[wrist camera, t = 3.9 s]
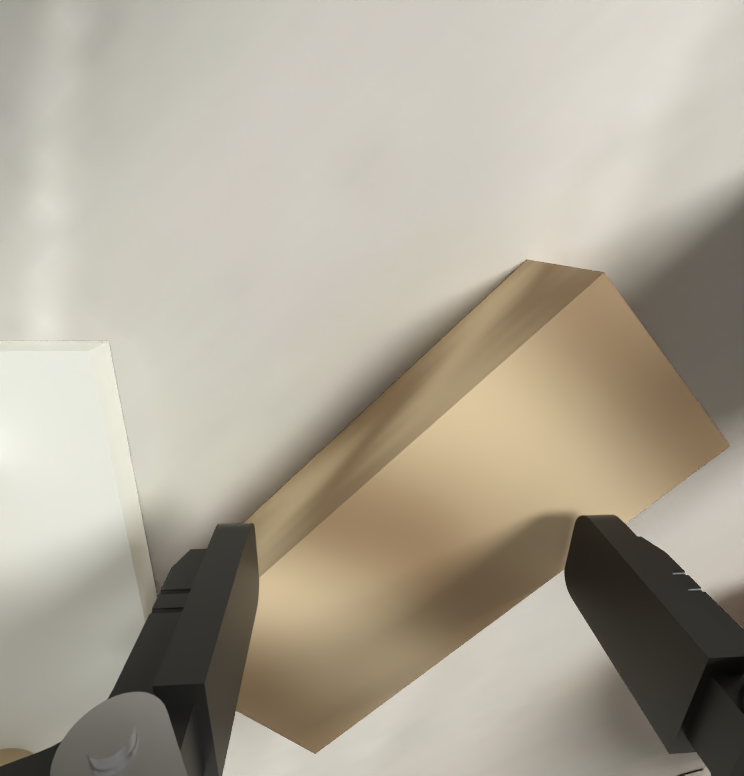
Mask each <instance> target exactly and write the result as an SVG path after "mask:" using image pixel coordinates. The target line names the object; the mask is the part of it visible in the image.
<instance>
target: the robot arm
mask: <svg viewBox="0 0 744 776" xmlns="http://www.w3.org/2000/svg"><path fill="white" fill-rule="evenodd" d="M564 573H565V582H566V586H567V589H568V592H569V594H570V596H571V598H572V599H573V601H574V603H575V604H576V606H577V607H578V609H579V611H580V612H581V614H582V615H583V617H584V618H585V620H586V622H587V623H588V625H589V626H590V628H591V630H592V631H593V633H594V634H595V636H596V638H597V639H598V641H599V642H600V644H601V646H602V647H603V649H604V650H605V652H606V654H607V655H608V657H609V658H610V660H611V662H612V663H613V665H614V666H615V668H616V670H617V671H618V673H619V674H620V676H621V677H622V679H623V681H624V682H625V684H626V685H627V687H628V689H629V690H630V692H631V693H632V695H633V697H634V698H635V700H636V701H637V703H638V705H639V706H640V708H641V709H642V711H643V713H644V714H645V716H646V717H647V719H648V721H649V722H650V724H651V725H652V727H653V729H654V730H655V732H656V733H657V735H658V736H659V738H660V740H661V741H662V743H663V744H664V746H665V748H666V749H667V751H668V752H669V754H674V753H688V752H697V754H698V755H699V757H700V758H701V759H702V761H703V762H704V764H705V766H704V768H703V770H702V774H701V776H744V630H743V629H742V628H741V627H740V626H739V625H738V624H737V623H736V622H735V621H734V620H733V619H732V618H731V617H730V616H729V615H728V614H727V613H726V612H725V611H724V610H723V609H722V608H721V607H720V606H719V605H718V604H717V603H716V602H715V601H714V600H713V599H712V598H711V597H710V596H709V595H708V594H707V593H706V592H702V591H701V587H700V586H699V585H698V584H697V583H696V582H695V581H694V580H693V579H692V578H691V577H690V576H689V575H685V571H684V570H683V569H682V568H681V567H680V566H679V565H678V564H677V563H676V562H675V561H674V560H673V559H672V558H671V557H670V556H669V555H668V554H667V553H666V552H664V551H663V550H661V549H660V548H658V547H656V546H655V545H653V544H652V543H650V542H649V541H647V540H645V539H644V538H642V537H637V536H636V535H635V534H634V533H633V532H632V531H631V529H630V528H629V527H628V526H627V525H626V524H625V523H624V522H623V521H622V520H621V519H620V518H619V517H617V516H616V515H581V516H579V517H578V518H577V519H576V521H575V525H574V529H573V533H572V538H571V542H570V546H569V551H568V555H567V560H566V564H565V572H564ZM258 598H259V570H258V558H257V546H256V534H255V527H254V524H253V523H237V524H218V525H217V527H216V529H215V531H214V533H213V536H212V538H211V541H210V543H209V546H208V548H207V549H192V550H190V551H189V552H187V553H186V554H185V555H184V556H183V557H182V558H181V559H180V560H179V561H178V562H177V563H176V564H175V565H174V566H173V567H172V568H171V570H170V572H169V574H168V576H167V578H166V581H165V583H164V585H163V587H162V589H161V594H159V595H158V597H157V599H156V601H155V603H154V605H153V607H152V613H150V614H149V616H148V618H147V620H146V622H145V624H144V626H143V628H142V630H141V632H140V634H139V636H138V638H137V641H136V643H135V645H134V647H133V649H132V651H131V653H130V655H129V657H128V659H127V661H126V663H125V665H124V667H123V670H122V672H121V674H120V676H119V678H118V680H117V682H116V684H115V686H114V688H113V690H112V692H111V694H110V695H109V697H108V699H107V700H105V701H104V702H102V703H100V704H99V705H97V706H95V707H94V708H93V709H91V710H90V711H89V712H87V713H86V714H85V715H84V716H83V717H82V718H80V719H79V720H78V721H77V722H76V723H75V724H74V726H73V727H72V728H71V729H70V730H69V731H68V733H67V734H66V736H65V737H64V738H63V740H62V741H61V742H59V743H57V744H55V745H54V746H52V747H49V748H47V749H45V750H42V751H40V752H37V753H35V754H32V755H29V756H27V757H24V758H21V759H19V760H16V761H13V762H11V763H8V764H5V765H3V766H0V776H222V773H223V768H224V764H225V759H226V754H227V749H228V745H229V740H230V735H231V730H232V726H233V721H234V716H235V711H236V706H237V702H238V697H239V692H240V687H241V683H242V678H243V673H244V668H245V663H246V659H247V654H248V649H249V644H250V640H251V635H252V630H253V625H254V621H255V616H256V611H257V606H258Z"/></svg>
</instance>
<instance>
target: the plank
mask: <svg viewBox="0 0 744 776" xmlns="http://www.w3.org/2000/svg"><path fill="white" fill-rule="evenodd" d="M728 447H730V445H729V443H728V442H727V441H726V439H725V438H724V436H723V435H722V434H721V432H720V431H719V430H718V428H717V427H716V425H715V424H714V423H713V421H712V420H711V419H710V417H709V416H708V414H707V413H706V412H705V410H704V409H703V408H702V406H701V405H700V403H699V402H698V401H697V399H696V398H695V397H694V395H693V394H692V392H691V391H690V390H689V388H688V387H687V386H686V384H685V383H684V381H683V380H682V379H681V377H680V376H679V375H678V373H677V372H676V370H675V369H674V368H673V366H672V365H671V364H670V362H669V361H668V359H667V358H666V357H665V355H664V354H663V353H662V351H661V350H660V348H659V347H658V346H657V344H656V343H655V342H654V340H653V339H652V337H651V336H650V335H649V333H648V332H647V331H646V329H645V328H644V326H643V325H642V324H641V322H640V321H639V320H638V318H637V317H636V315H635V314H634V313H633V311H632V310H631V309H630V307H629V306H628V304H627V303H626V302H625V300H624V299H623V298H622V296H621V295H620V294H619V292H618V291H617V289H616V288H615V287H614V285H613V284H612V283H611V281H610V280H609V278H608V277H607V276H606V274H605V273H604V272H598V271H592V270H586V269H580V268H574V267H568V266H562V265H556V264H550V263H544V262H539V261H533V260H526V261H525V262H524V263H523V264H521V265H520V266H519V267H518V268H517V269H516V270H515V271H514V272H513V273H512V274H511V275H510V276H509V277H507V278H506V279H505V280H504V281H503V282H502V283H501V284H500V285H499V286H498V287H497V288H496V289H495V290H493V291H492V292H491V293H490V294H489V295H488V296H487V297H486V298H485V299H484V300H483V301H482V302H481V303H479V304H478V305H477V306H476V307H475V308H474V309H473V310H472V311H471V312H470V313H469V314H468V315H467V316H465V317H464V318H463V319H462V320H461V321H460V322H459V323H458V324H457V325H456V326H455V327H454V328H453V329H451V330H450V331H449V332H448V333H447V334H446V335H445V336H444V337H443V338H442V339H441V340H440V341H439V342H437V343H436V344H435V345H434V346H433V347H432V348H431V349H430V350H429V351H428V352H427V353H426V354H425V355H424V356H422V357H421V358H420V359H419V360H418V361H417V362H416V363H415V364H414V365H413V366H412V367H411V368H410V369H408V370H407V371H406V372H405V373H404V374H403V375H402V376H401V377H400V378H399V379H398V380H397V381H396V382H394V383H393V384H392V385H391V386H390V387H389V388H388V389H387V390H386V391H385V392H384V393H383V394H382V395H380V396H379V397H378V398H377V399H376V400H375V401H374V402H373V403H372V404H371V405H370V406H369V407H368V408H366V409H365V410H364V411H363V412H362V413H361V414H360V415H359V416H358V417H357V418H356V419H355V420H354V421H352V422H351V423H350V424H349V425H348V426H347V427H346V428H345V429H344V430H343V431H342V432H341V433H340V434H338V435H337V436H336V437H335V438H334V439H333V440H332V441H331V442H330V443H329V444H328V445H327V446H326V447H324V448H323V449H322V450H321V451H320V452H319V453H318V454H317V455H316V456H315V457H314V458H313V459H312V460H311V461H309V462H308V463H307V464H306V465H305V466H304V467H303V468H302V469H301V470H300V471H299V472H298V473H297V474H295V475H294V476H293V477H292V478H291V479H290V480H289V481H288V482H287V483H286V484H285V485H284V486H283V487H281V488H280V489H279V490H278V491H277V492H276V493H275V494H274V495H273V496H272V497H271V498H270V499H269V500H267V501H266V502H265V503H264V504H263V505H262V506H261V507H260V508H259V509H258V510H257V511H256V512H255V513H253V514H252V515H251V516H250V517H249V518H248V519H247V520H246V521H245V522H244V523H253V524H254V527H255V534H256V546H257V558H258V570H259V598H258V606H257V611H256V616H255V621H254V625H253V630H252V635H251V640H250V644H249V649H248V654H247V659H246V663H245V668H244V673H243V678H242V683H241V687H240V692H239V697H238V702H237V706H236V711H238V712H240V713H242V714H243V715H245V716H247V717H249V718H251V719H253V720H254V721H256V722H258V723H260V724H262V725H263V726H265V727H267V728H269V729H271V730H273V731H274V732H276V733H278V734H280V735H282V736H283V737H285V738H287V739H289V740H291V741H293V742H294V743H296V744H298V745H300V746H302V747H303V748H305V749H307V750H309V751H311V752H313V753H314V754H316V753H317V752H318V751H320V750H321V749H322V748H324V747H325V746H326V745H328V744H329V743H331V742H332V741H333V740H335V739H336V738H337V737H339V736H340V735H341V734H343V733H344V732H345V731H347V730H348V729H349V728H351V727H352V726H353V725H355V724H356V723H357V722H359V721H360V720H362V719H363V718H364V717H366V716H367V715H368V714H370V713H371V712H372V711H374V710H375V709H376V708H378V707H379V706H380V705H382V704H383V703H384V702H386V701H387V700H388V699H390V698H391V697H393V696H394V695H395V694H397V693H398V692H399V691H401V690H402V689H403V688H405V687H406V686H407V685H409V684H410V683H411V682H413V681H414V680H415V679H417V678H418V677H419V676H421V675H422V674H424V673H425V672H426V671H428V670H429V669H430V668H432V667H433V666H434V665H436V664H437V663H438V662H440V661H441V660H442V659H444V658H445V657H446V656H448V655H449V654H450V653H452V652H453V651H455V650H456V649H457V648H459V647H460V646H461V645H463V644H464V643H465V642H467V641H468V640H469V639H471V638H472V637H473V636H475V635H476V634H477V633H479V632H480V631H481V630H483V629H484V628H486V627H487V626H488V625H490V624H491V623H492V622H494V621H495V620H496V619H498V618H499V617H500V616H502V615H503V614H504V613H506V612H507V611H508V610H510V609H511V608H512V607H514V606H515V605H517V604H518V603H519V602H521V601H522V600H523V599H525V598H526V597H527V596H529V595H530V594H531V593H533V592H534V591H535V590H537V589H538V588H539V587H541V586H542V585H543V584H545V583H546V582H548V581H549V580H550V579H552V578H553V577H554V576H556V575H557V574H558V573H560V572H561V571H562V570H564V569H565V564H566V560H567V555H568V551H569V546H570V542H571V538H572V533H573V529H574V525H575V521H576V519H577V518H578V517H579V516H581V515H616V516H617V517H619V518H620V519H621V520H622V521H623V522H624V523H625V524H626V523H627V522H628V521H630V520H631V519H632V518H634V517H635V516H637V515H638V514H639V513H641V512H642V511H643V510H645V509H646V508H647V507H649V506H650V505H651V504H653V503H654V502H655V501H657V500H658V499H659V498H661V497H662V496H663V495H665V494H666V493H668V492H669V491H670V490H672V489H673V488H674V487H676V486H677V485H678V484H680V483H681V482H682V481H684V480H685V479H686V478H688V477H689V476H690V475H692V474H693V473H694V472H696V471H697V470H699V469H700V468H701V467H703V466H704V465H705V464H707V463H708V462H709V461H711V460H712V459H713V458H715V457H716V456H717V455H719V454H720V453H721V452H723V451H724V450H725V449H727V448H728Z"/></svg>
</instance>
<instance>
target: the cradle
mask: <svg viewBox="0 0 744 776" xmlns="http://www.w3.org/2000/svg"><path fill="white" fill-rule="evenodd" d="M156 599H157V593H156V588H155V582H154V577H153V572H152V567H151V561H150V556H149V551H148V546H147V541H146V535H145V530H144V525H143V520H142V514H141V509H140V504H139V499H138V494H137V488H136V483H135V478H134V473H133V467H132V462H131V457H130V452H129V447H128V441H127V436H126V431H125V426H124V420H123V415H122V410H121V405H120V399H119V394H118V389H117V384H116V379H115V373H114V368H113V363H112V358H111V352H110V347H109V342H108V341H0V766H3V765H5V764H8V763H11V762H13V761H16V760H19V759H21V758H24V757H27V756H29V755H32V754H35V753H37V752H40V751H42V750H45V749H47V748H49V747H52V746H54V745H55V744H57V743H59V742H61V741H62V740H63V738H64V737H65V736H66V734H67V733H68V731H69V730H70V729H71V728H72V727H73V726H74V724H75V723H76V722H77V721H78V720H79V719H80V718H82V717H83V716H84V715H85V714H86V713H87V712H89V711H90V710H91V709H93V708H94V707H95V706H97V705H99V704H100V703H102V702H104V701H105V700H107V699H108V697H109V695H110V694H111V692H112V690H113V688H114V686H115V684H116V682H117V680H118V678H119V676H120V674H121V672H122V670H123V667H124V665H125V663H126V661H127V659H128V657H129V655H130V653H131V651H132V649H133V647H134V645H135V643H136V641H137V638H138V636H139V634H140V632H141V630H142V628H143V626H144V624H145V622H146V620H147V618H148V616H149V614H150V613H152V607H153V605H154V603H155V601H156Z"/></svg>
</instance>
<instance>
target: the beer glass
mask: <svg viewBox="0 0 744 776" xmlns="http://www.w3.org/2000/svg"><path fill="white" fill-rule="evenodd" d="M701 774H702V770H701V771H696V772H692V773H689V774H685V775H683V776H701Z"/></svg>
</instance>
